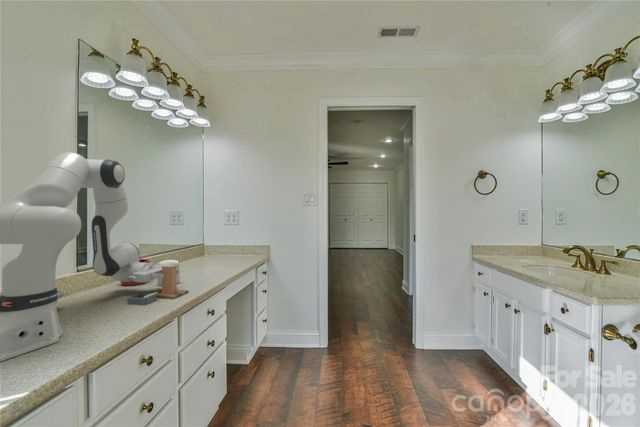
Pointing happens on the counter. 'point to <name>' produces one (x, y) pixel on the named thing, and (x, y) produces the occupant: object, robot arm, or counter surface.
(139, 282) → the plant pot
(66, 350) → the counter surface
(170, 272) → the tan rectangular prism
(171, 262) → the photo printer
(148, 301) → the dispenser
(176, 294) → the pad
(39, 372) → the counter surface
